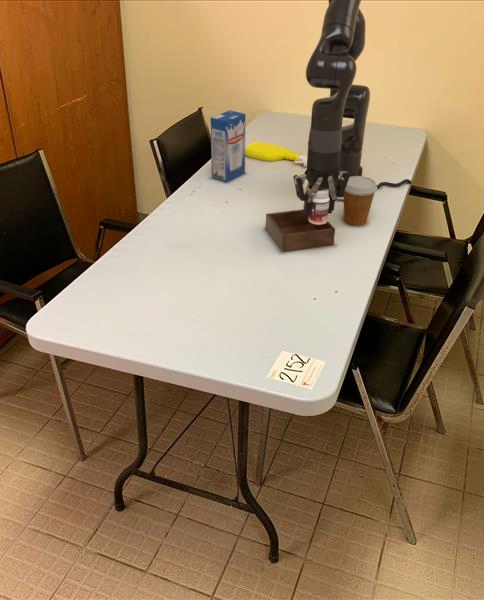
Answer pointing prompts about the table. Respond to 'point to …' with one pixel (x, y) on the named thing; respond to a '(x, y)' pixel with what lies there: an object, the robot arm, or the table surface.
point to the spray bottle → (273, 153)
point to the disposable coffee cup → (358, 200)
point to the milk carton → (228, 145)
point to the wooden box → (298, 231)
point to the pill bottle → (320, 207)
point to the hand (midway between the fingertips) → (318, 213)
